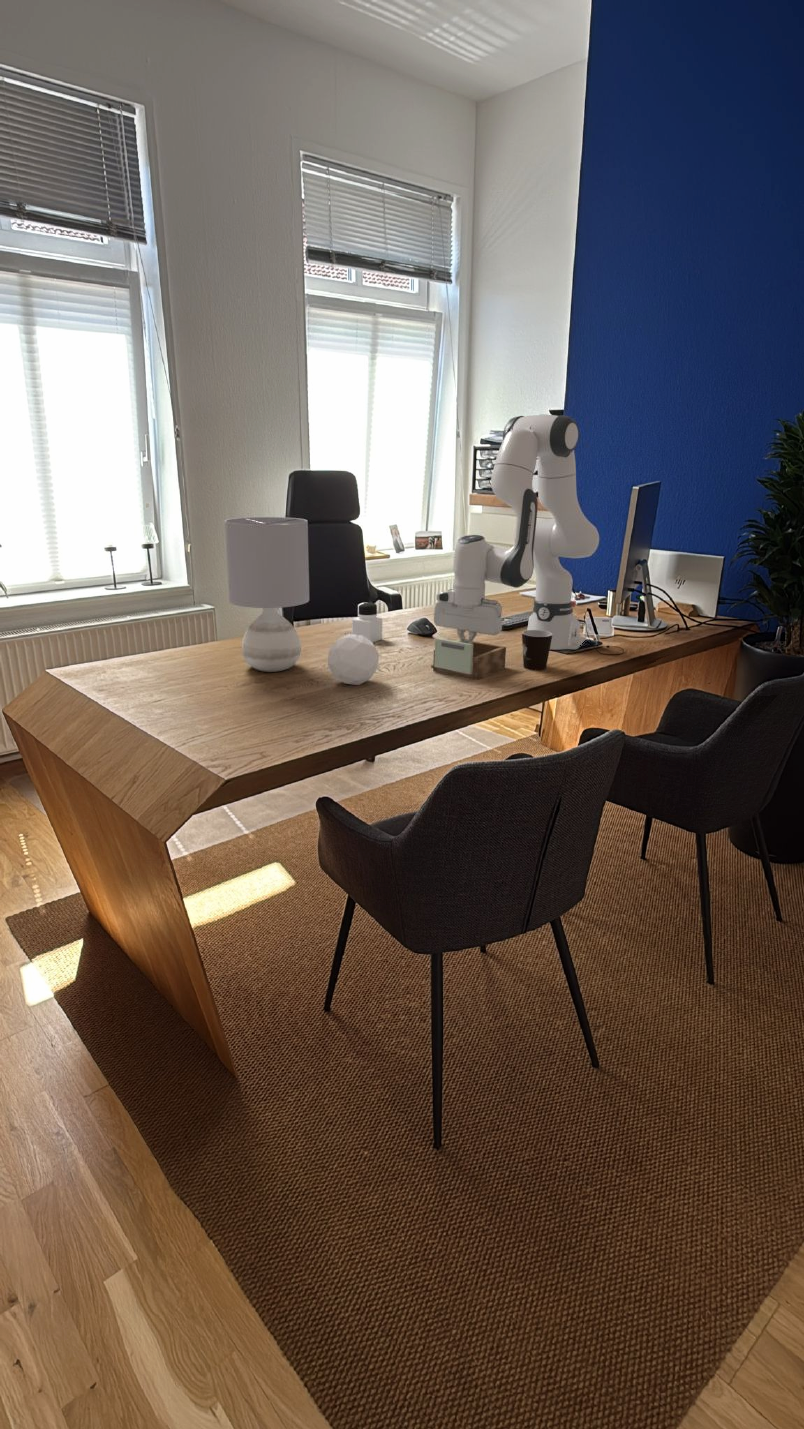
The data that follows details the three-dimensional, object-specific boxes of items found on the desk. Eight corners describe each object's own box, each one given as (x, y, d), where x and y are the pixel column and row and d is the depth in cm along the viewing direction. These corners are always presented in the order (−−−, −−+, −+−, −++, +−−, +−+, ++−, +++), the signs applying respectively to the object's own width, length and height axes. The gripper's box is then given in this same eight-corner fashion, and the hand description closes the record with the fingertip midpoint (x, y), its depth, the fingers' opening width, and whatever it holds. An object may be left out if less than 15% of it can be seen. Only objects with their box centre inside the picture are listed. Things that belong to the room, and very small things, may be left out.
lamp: (326, 667, 221) (324, 521, 208) (266, 683, 206) (259, 526, 193) (277, 654, 235) (272, 515, 222) (217, 667, 220) (207, 519, 206)
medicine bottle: (382, 639, 255) (382, 602, 251) (370, 643, 249) (370, 606, 245) (364, 636, 258) (364, 600, 254) (352, 640, 252) (351, 603, 248)
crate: (463, 659, 232) (464, 639, 230) (504, 667, 224) (506, 647, 223) (430, 671, 219) (431, 650, 217) (473, 680, 211) (474, 659, 209)
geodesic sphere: (310, 657, 210) (326, 622, 200) (353, 650, 218) (370, 616, 208) (333, 699, 204) (350, 665, 194) (376, 690, 212) (395, 658, 202)
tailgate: (436, 666, 218) (437, 637, 216) (472, 673, 212) (473, 644, 209) (433, 667, 217) (434, 638, 215) (469, 674, 211) (470, 645, 208)
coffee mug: (549, 672, 220) (552, 637, 217) (518, 670, 222) (520, 635, 219) (550, 661, 231) (553, 628, 228) (521, 659, 233) (523, 626, 229)
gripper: (507, 599, 210) (504, 649, 215) (443, 590, 222) (442, 638, 226) (496, 603, 206) (493, 654, 210) (431, 593, 217) (430, 642, 221)
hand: (466, 646), depth 218 cm, fingers closed
